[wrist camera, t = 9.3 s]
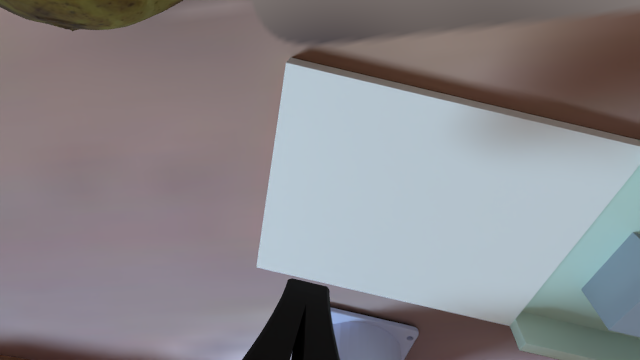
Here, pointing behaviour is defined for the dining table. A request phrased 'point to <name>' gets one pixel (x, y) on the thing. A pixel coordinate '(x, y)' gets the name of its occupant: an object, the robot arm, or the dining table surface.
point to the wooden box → (10, 358)
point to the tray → (570, 302)
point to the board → (429, 192)
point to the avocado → (87, 12)
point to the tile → (618, 289)
